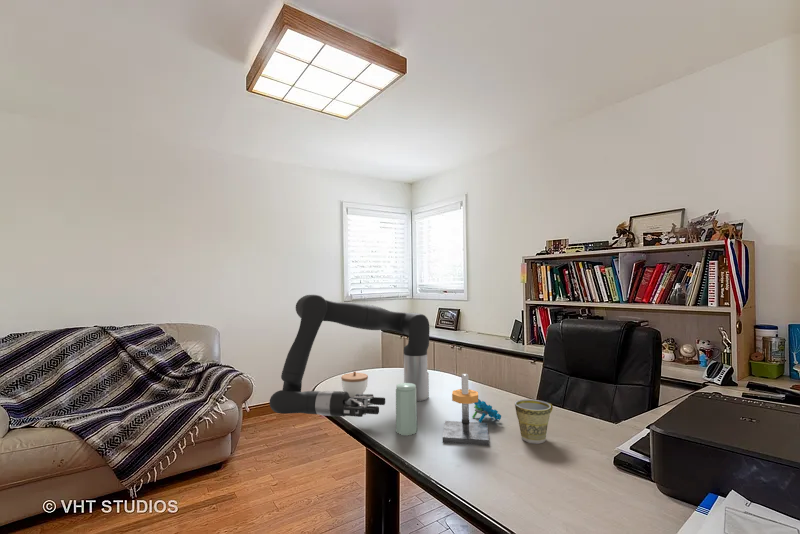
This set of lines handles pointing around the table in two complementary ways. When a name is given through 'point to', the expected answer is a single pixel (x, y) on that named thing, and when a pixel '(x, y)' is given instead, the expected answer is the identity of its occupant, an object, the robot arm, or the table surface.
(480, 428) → the post stand
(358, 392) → the lidded jar
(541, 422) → the ceramic cup
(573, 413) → the table surface
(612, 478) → the table surface
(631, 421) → the table surface
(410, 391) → the pale green canister
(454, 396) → the collar
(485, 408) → the blue toy dinosaur
